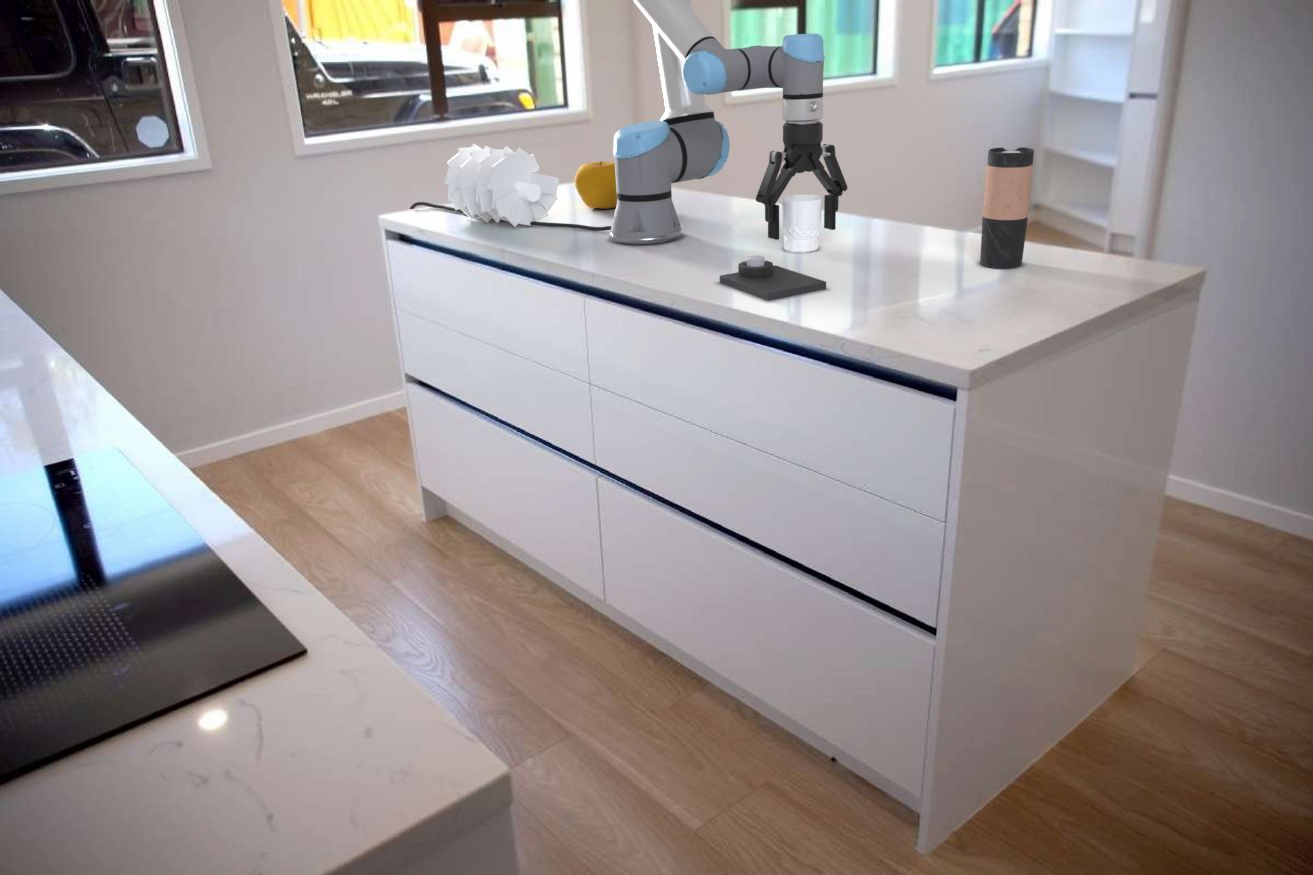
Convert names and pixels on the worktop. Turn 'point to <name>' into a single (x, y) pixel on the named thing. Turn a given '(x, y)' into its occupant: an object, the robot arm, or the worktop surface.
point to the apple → (597, 184)
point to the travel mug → (1006, 207)
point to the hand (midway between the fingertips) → (802, 233)
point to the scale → (771, 281)
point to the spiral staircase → (499, 185)
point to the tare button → (755, 261)
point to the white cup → (801, 222)
